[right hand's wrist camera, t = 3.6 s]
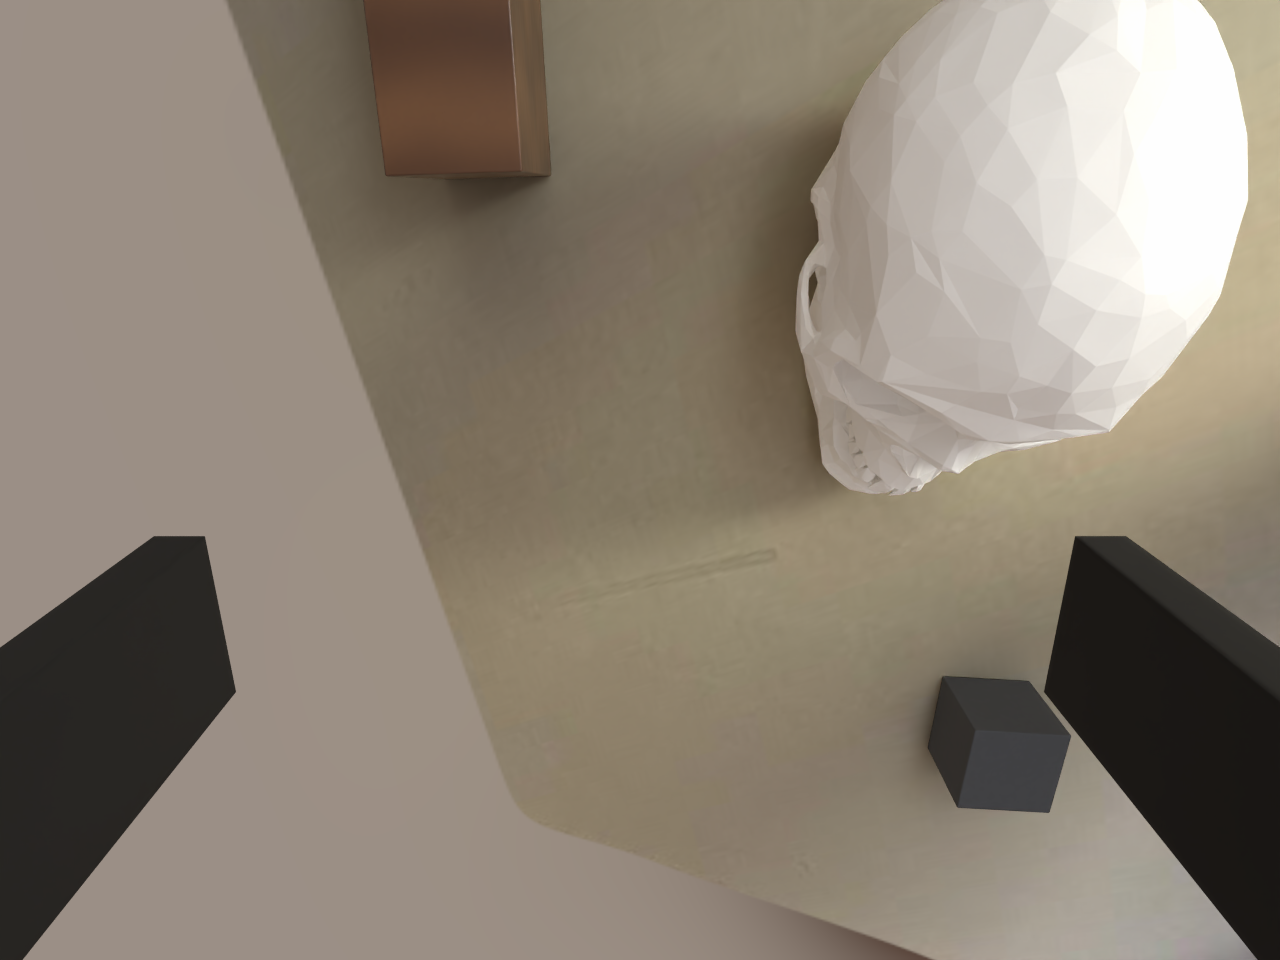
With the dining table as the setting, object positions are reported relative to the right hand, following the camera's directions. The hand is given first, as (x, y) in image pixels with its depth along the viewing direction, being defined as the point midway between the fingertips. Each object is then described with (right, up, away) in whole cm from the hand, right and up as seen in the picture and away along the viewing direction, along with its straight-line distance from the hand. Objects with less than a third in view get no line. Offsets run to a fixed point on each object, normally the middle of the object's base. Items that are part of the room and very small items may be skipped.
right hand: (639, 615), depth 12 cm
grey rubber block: (+20, -12, +35) cm, 42 cm away
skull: (+13, +12, +26) cm, 32 cm away
